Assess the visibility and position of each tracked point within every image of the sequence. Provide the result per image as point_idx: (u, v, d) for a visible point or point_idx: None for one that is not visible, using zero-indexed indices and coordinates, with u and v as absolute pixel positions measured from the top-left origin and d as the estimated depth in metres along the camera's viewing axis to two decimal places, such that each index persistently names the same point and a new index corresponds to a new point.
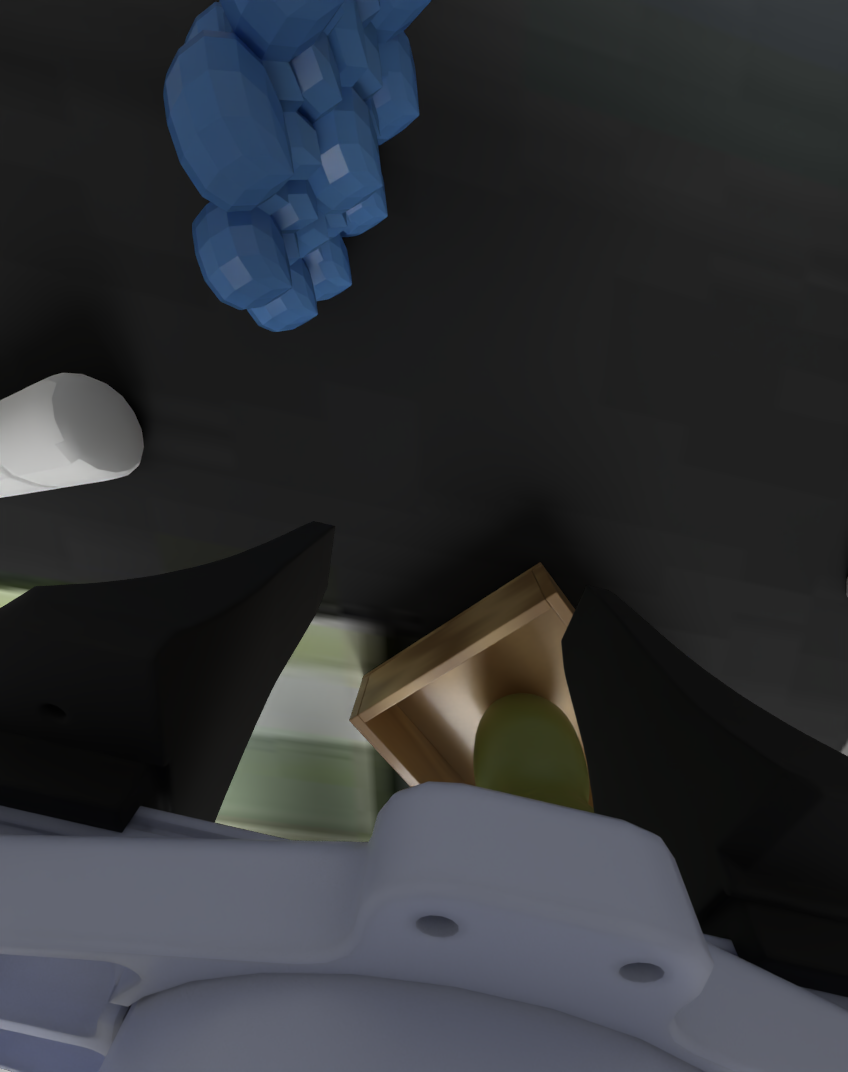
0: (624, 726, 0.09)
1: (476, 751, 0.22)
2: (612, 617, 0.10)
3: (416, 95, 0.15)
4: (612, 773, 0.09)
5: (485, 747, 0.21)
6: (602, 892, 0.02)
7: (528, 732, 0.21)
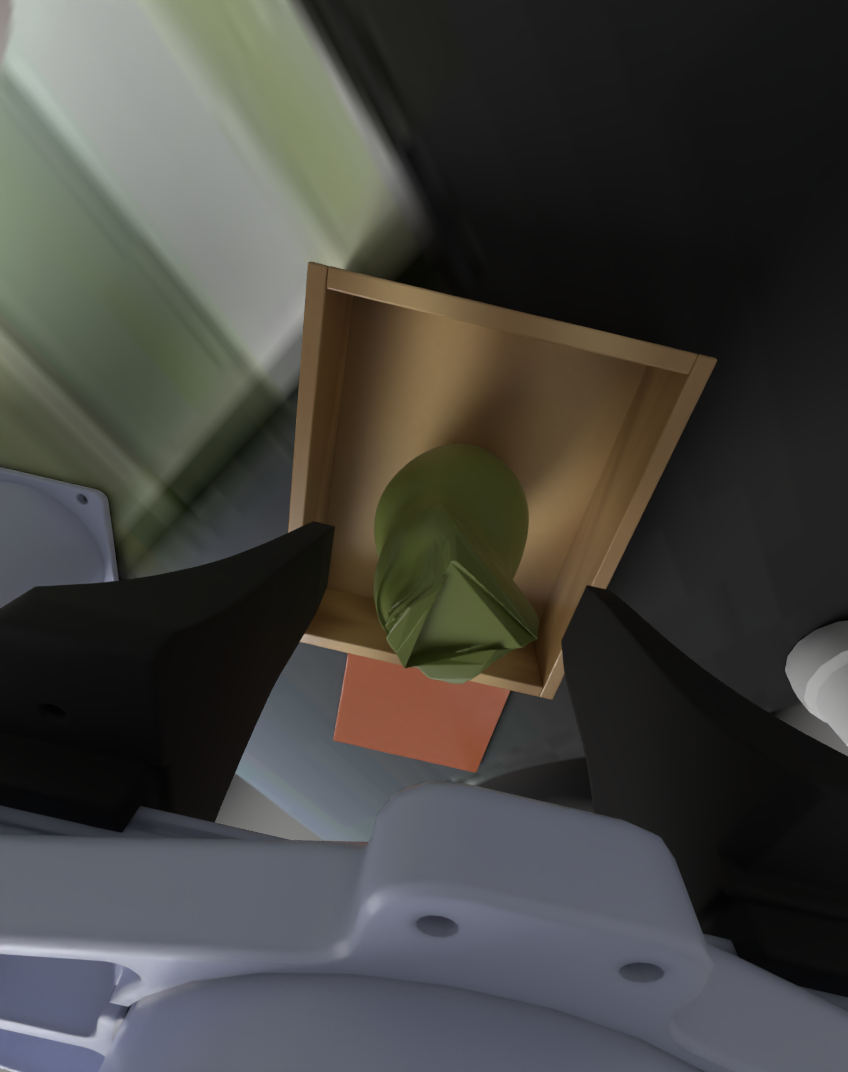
0: (624, 726, 0.09)
1: (417, 462, 0.15)
2: (612, 617, 0.10)
3: None
4: (612, 773, 0.09)
5: (440, 463, 0.14)
6: (602, 893, 0.02)
7: (500, 489, 0.15)
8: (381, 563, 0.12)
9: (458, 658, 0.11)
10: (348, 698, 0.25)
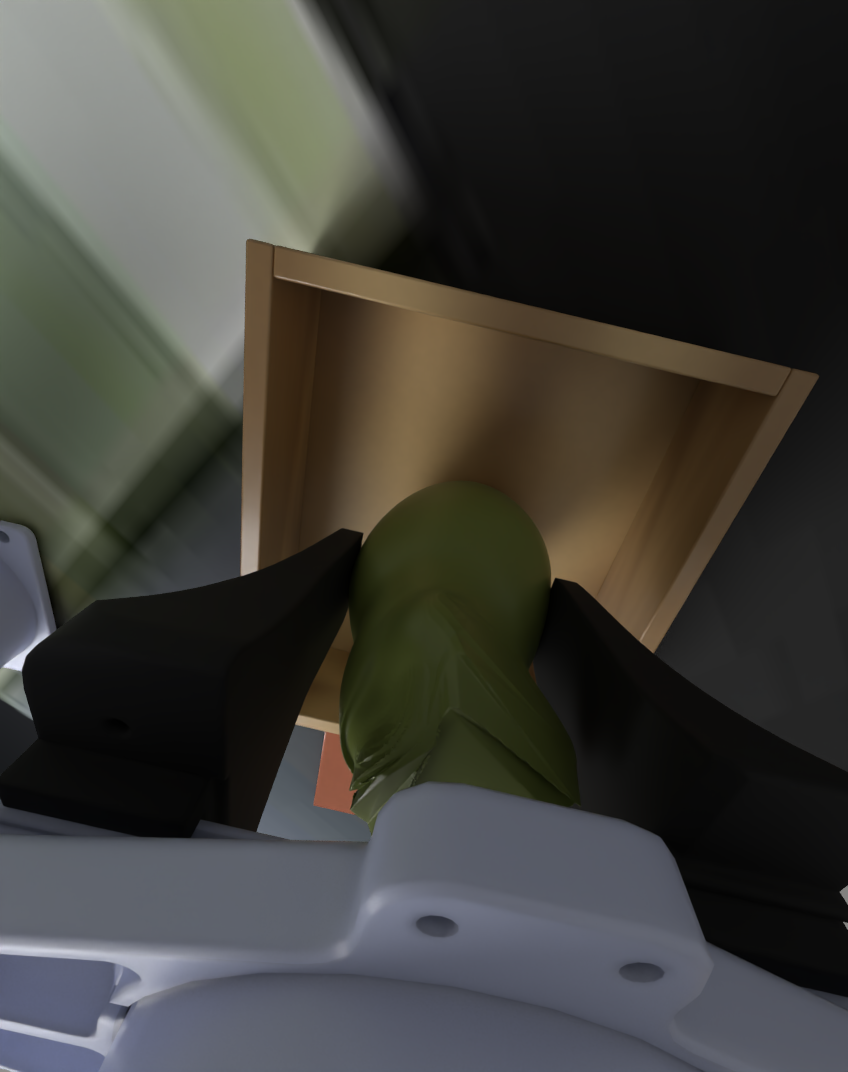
0: (582, 716, 0.09)
1: (406, 510, 0.11)
2: (575, 608, 0.10)
3: None
4: None
5: (435, 513, 0.11)
6: (602, 892, 0.02)
7: (516, 548, 0.11)
8: (348, 676, 0.08)
9: None
10: (329, 762, 0.21)
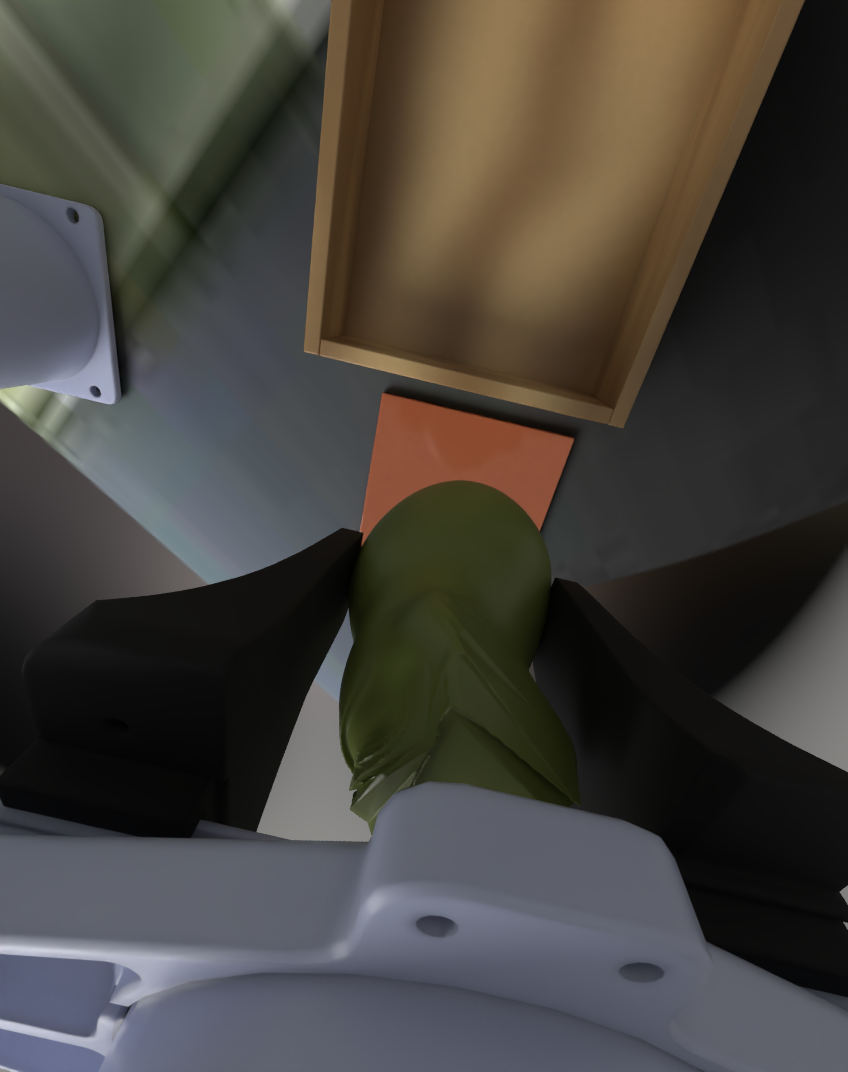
0: (582, 716, 0.09)
1: (406, 510, 0.11)
2: (575, 608, 0.10)
3: None
4: None
5: (435, 513, 0.11)
6: (602, 892, 0.02)
7: (516, 548, 0.11)
8: (348, 676, 0.08)
9: None
10: (374, 498, 0.22)
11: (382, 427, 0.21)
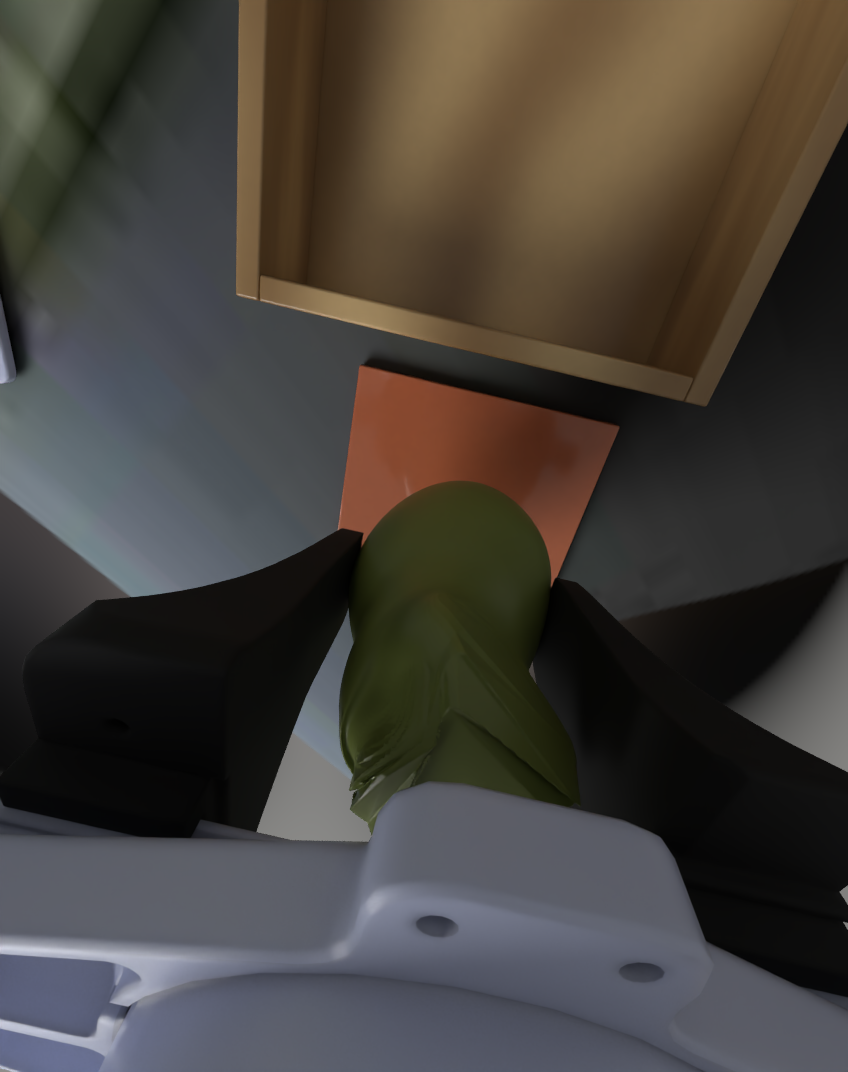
0: (582, 716, 0.09)
1: (406, 510, 0.11)
2: (575, 608, 0.10)
3: None
4: None
5: (435, 513, 0.11)
6: (602, 893, 0.02)
7: (517, 548, 0.11)
8: (348, 676, 0.08)
9: None
10: (352, 507, 0.17)
11: (360, 412, 0.15)
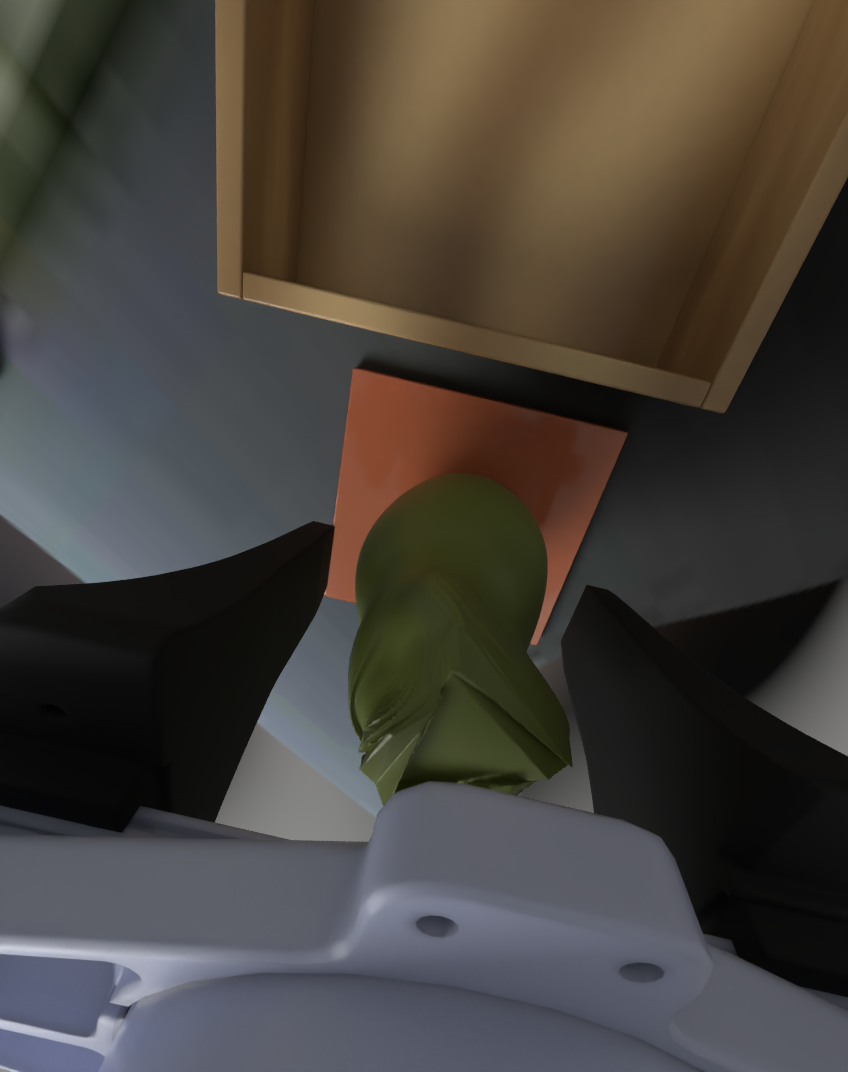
0: (624, 726, 0.09)
1: (410, 500, 0.12)
2: (612, 617, 0.10)
3: None
4: (612, 773, 0.09)
5: (438, 502, 0.11)
6: (602, 893, 0.02)
7: (514, 536, 0.11)
8: (357, 650, 0.09)
9: None
10: (346, 516, 0.16)
11: (354, 417, 0.15)
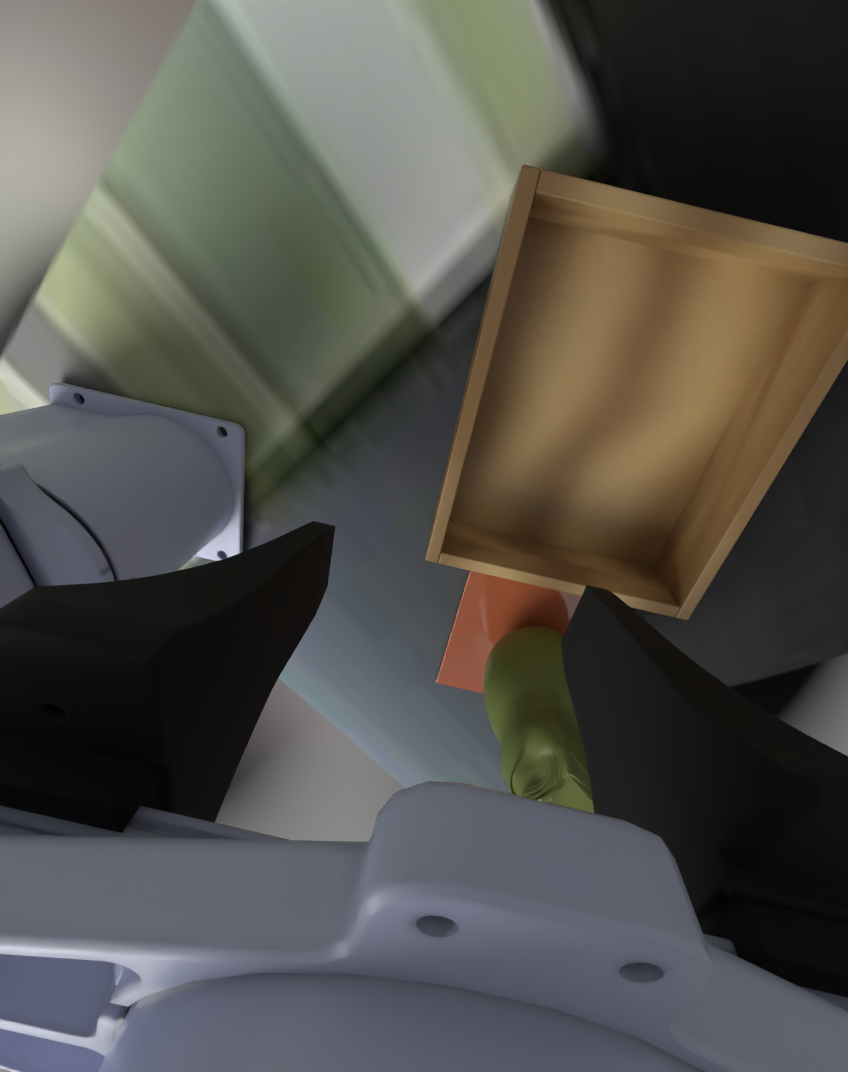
0: (624, 725, 0.09)
1: (516, 654, 0.21)
2: (612, 617, 0.10)
3: None
4: (612, 773, 0.09)
5: (534, 660, 0.21)
6: (602, 893, 0.02)
7: None
8: (511, 754, 0.18)
9: None
10: (457, 638, 0.26)
11: (470, 586, 0.24)
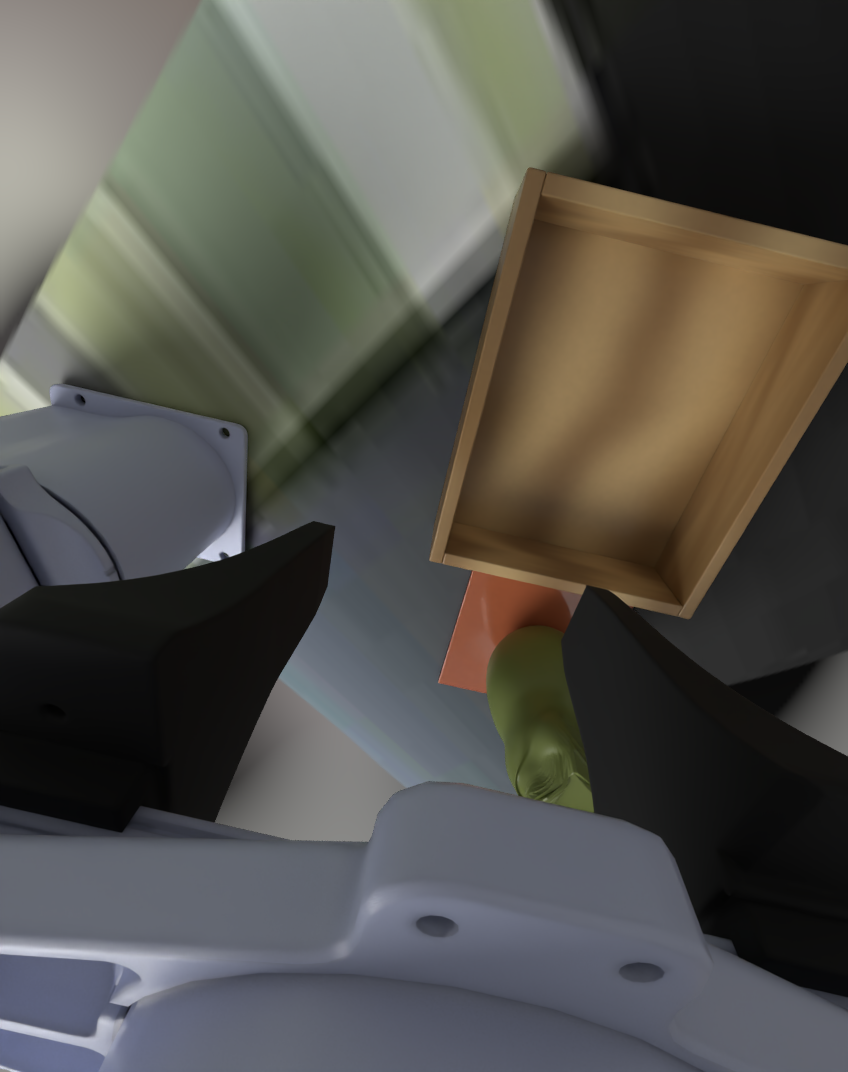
0: (624, 726, 0.09)
1: (520, 654, 0.21)
2: (612, 617, 0.10)
3: None
4: (612, 773, 0.09)
5: (538, 659, 0.21)
6: (602, 892, 0.02)
7: None
8: (516, 753, 0.18)
9: None
10: (460, 638, 0.26)
11: (472, 587, 0.24)
